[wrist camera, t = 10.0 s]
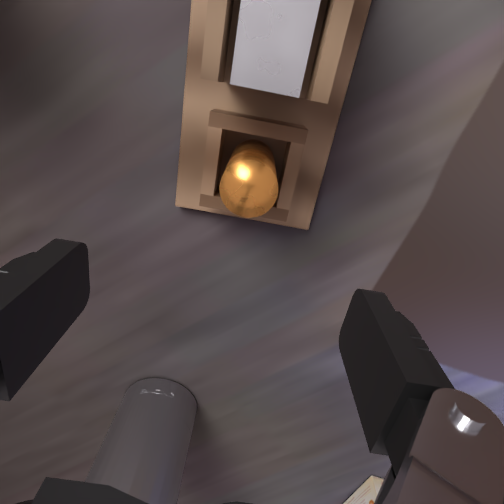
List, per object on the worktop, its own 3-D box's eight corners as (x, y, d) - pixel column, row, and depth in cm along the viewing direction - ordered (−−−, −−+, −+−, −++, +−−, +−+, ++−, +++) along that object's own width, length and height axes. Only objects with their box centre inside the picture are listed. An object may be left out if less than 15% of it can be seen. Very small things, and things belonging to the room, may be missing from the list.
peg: (278, 144, 27) (284, 166, 20) (269, 187, 28) (271, 222, 21) (234, 135, 27) (223, 154, 20) (227, 179, 28) (215, 212, 21)
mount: (306, 225, 31) (327, 298, 20) (177, 202, 30) (131, 264, 20) (390, -82, 21) (512, -243, 11) (205, -124, 21) (142, -338, 10)
